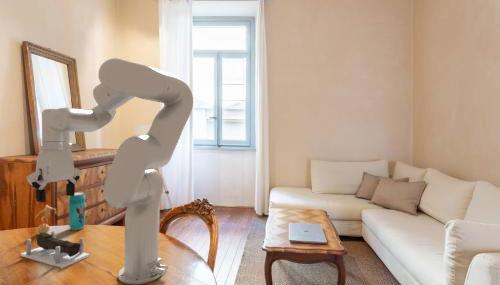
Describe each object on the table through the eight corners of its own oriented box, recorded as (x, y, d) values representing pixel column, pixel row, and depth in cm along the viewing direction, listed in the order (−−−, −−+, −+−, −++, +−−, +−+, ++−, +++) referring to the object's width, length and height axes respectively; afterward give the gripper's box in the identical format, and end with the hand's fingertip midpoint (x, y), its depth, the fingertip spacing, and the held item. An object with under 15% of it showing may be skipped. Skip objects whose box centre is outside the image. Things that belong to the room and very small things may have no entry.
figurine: (51, 229, 118) (51, 201, 118) (60, 232, 116) (60, 203, 115) (28, 236, 110) (29, 205, 110) (38, 238, 108) (38, 207, 108)
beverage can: (76, 231, 117) (76, 195, 116) (65, 229, 119) (66, 194, 118) (88, 227, 122) (88, 192, 122) (78, 225, 124) (78, 191, 124)
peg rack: (89, 256, 95) (89, 239, 94) (62, 268, 86) (62, 249, 86) (49, 245, 102) (49, 230, 102) (20, 256, 93) (20, 238, 93)
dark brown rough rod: (81, 253, 92) (81, 239, 92) (69, 258, 88) (69, 243, 88) (45, 242, 100) (46, 229, 100) (33, 246, 96) (33, 233, 96)
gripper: (73, 145, 102) (73, 192, 103) (19, 147, 86) (19, 203, 87) (87, 146, 99) (88, 194, 100) (35, 148, 83) (35, 205, 84)
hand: (56, 198), depth 93 cm, fingers open, 9 cm apart
